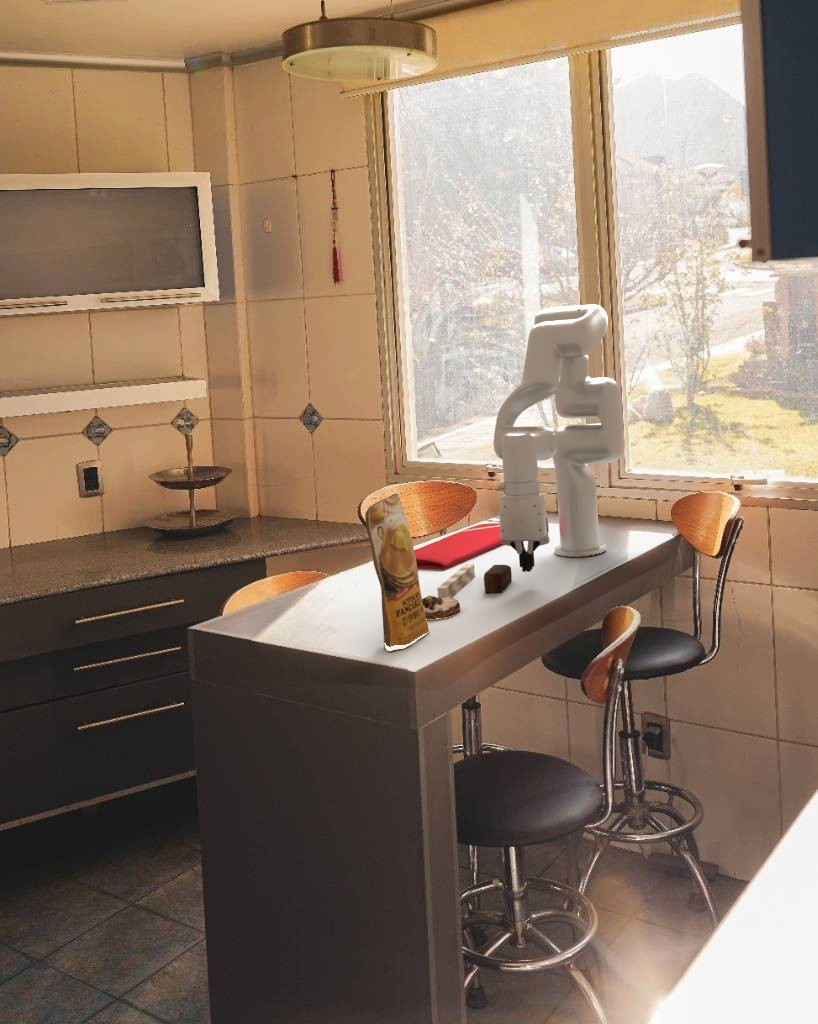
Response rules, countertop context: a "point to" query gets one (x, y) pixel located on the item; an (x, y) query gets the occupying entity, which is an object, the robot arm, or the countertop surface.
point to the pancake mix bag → (396, 572)
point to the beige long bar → (457, 581)
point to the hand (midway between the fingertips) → (527, 570)
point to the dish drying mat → (458, 547)
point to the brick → (497, 579)
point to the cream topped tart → (440, 607)
